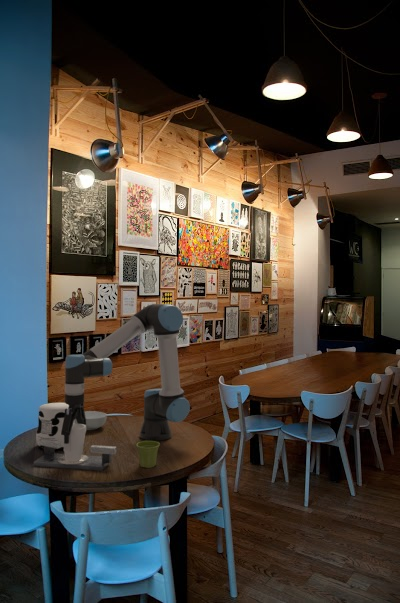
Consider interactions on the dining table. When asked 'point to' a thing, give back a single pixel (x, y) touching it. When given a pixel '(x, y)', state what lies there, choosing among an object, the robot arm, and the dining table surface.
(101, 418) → the cereal bowl
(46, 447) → the shaft stand
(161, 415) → the robot arm
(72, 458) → the foam cup
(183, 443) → the dining table surface
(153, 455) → the plant pot
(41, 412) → the milk container
